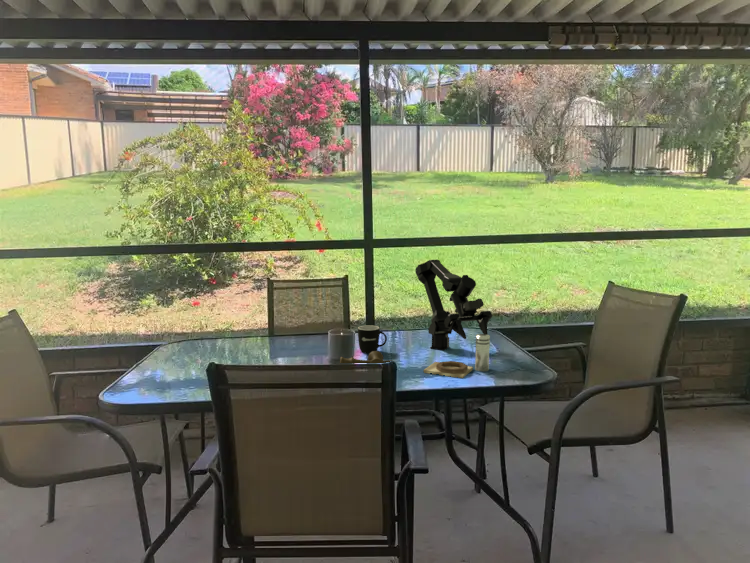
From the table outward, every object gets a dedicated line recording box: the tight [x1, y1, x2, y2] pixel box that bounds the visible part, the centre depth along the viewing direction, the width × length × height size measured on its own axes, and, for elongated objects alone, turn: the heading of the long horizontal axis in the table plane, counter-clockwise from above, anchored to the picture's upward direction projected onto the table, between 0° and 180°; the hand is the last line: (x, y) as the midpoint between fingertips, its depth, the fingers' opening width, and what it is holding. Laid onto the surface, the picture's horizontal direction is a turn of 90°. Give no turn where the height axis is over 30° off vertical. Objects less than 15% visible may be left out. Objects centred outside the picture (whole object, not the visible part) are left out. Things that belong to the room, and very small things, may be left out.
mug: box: [357, 324, 388, 354], centre depth 248 cm, size 12×9×10 cm
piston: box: [474, 333, 491, 372], centre depth 223 cm, size 5×5×13 cm
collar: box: [423, 360, 474, 379], centre depth 222 cm, size 15×12×2 cm
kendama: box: [339, 350, 393, 364], centre depth 224 cm, size 6×10×20 cm
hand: (476, 337), depth 226 cm, fingers open, 9 cm apart
